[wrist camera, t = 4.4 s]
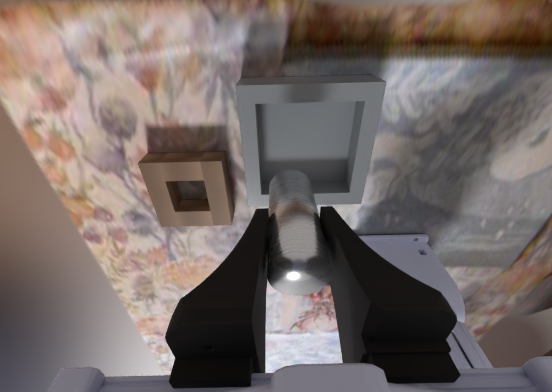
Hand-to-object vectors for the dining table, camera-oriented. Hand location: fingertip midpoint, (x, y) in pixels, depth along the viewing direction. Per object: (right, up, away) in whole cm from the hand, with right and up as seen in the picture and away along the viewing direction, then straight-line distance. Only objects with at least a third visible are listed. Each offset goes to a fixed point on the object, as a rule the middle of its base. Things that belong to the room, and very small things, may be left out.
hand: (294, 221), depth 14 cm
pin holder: (-9, +3, +11) cm, 14 cm away
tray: (+1, +6, +8) cm, 11 cm away
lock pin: (0, +2, +3) cm, 3 cm away
